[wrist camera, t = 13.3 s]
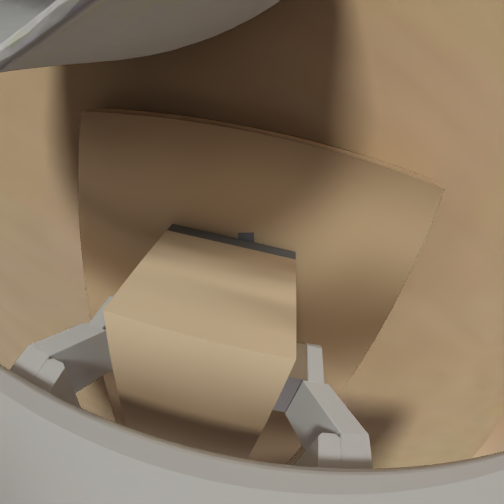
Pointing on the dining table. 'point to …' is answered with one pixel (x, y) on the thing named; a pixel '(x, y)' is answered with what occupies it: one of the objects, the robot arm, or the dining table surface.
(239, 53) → the dining table surface
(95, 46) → the teacup
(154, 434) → the block
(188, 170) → the board
